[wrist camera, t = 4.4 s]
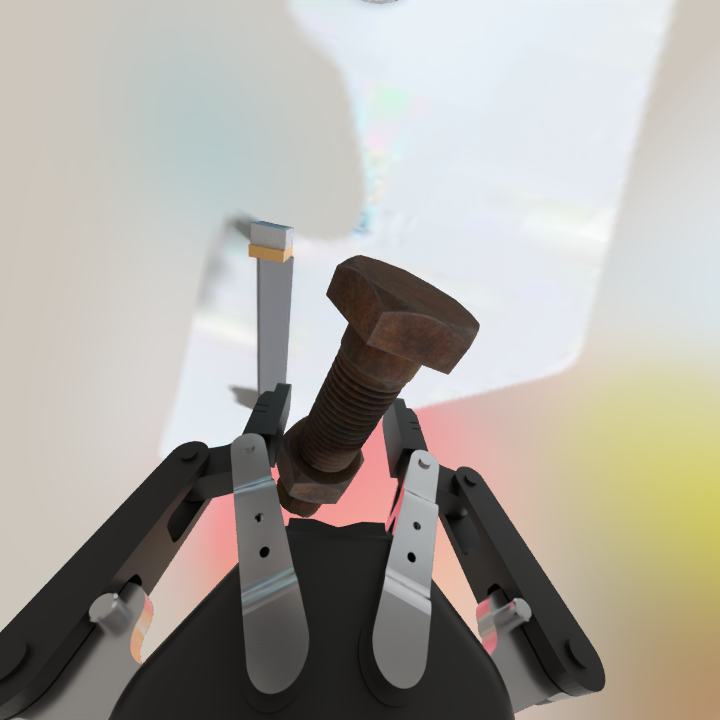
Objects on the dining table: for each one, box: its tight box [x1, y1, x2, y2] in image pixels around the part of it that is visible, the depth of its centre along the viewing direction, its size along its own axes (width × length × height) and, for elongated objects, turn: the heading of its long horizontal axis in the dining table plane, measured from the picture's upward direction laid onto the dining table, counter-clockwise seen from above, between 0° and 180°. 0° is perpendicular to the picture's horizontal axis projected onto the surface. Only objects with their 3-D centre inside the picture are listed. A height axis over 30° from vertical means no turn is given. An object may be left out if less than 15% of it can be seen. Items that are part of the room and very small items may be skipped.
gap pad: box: [259, 257, 294, 395], centre depth 26 cm, size 17×3×1 cm, turn 169°
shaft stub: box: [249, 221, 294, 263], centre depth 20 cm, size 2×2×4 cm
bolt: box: [276, 255, 480, 518], centre depth 13 cm, size 6×5×15 cm
